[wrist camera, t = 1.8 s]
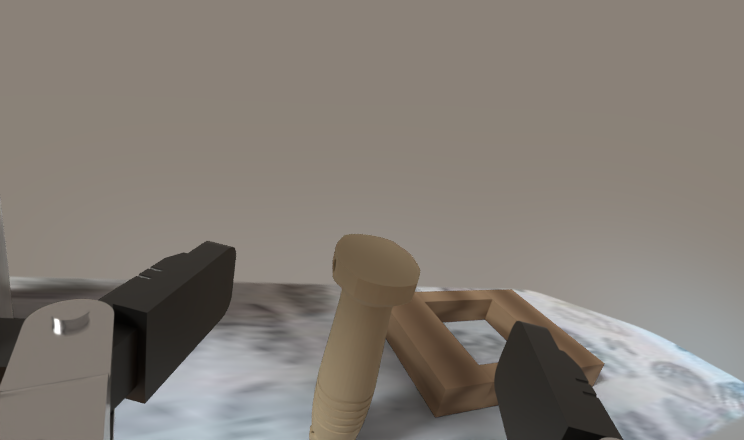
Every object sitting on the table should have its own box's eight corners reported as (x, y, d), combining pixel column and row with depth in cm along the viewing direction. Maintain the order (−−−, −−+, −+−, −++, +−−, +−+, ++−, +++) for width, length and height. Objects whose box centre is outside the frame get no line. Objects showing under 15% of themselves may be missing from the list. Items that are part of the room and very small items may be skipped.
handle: (356, 406, 31) (401, 239, 26) (371, 486, 25) (433, 290, 20) (296, 405, 30) (331, 230, 25) (297, 490, 24) (344, 282, 19)
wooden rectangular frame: (435, 417, 32) (445, 389, 31) (371, 315, 43) (377, 293, 42) (592, 386, 40) (604, 363, 39) (504, 308, 52) (511, 289, 51)
